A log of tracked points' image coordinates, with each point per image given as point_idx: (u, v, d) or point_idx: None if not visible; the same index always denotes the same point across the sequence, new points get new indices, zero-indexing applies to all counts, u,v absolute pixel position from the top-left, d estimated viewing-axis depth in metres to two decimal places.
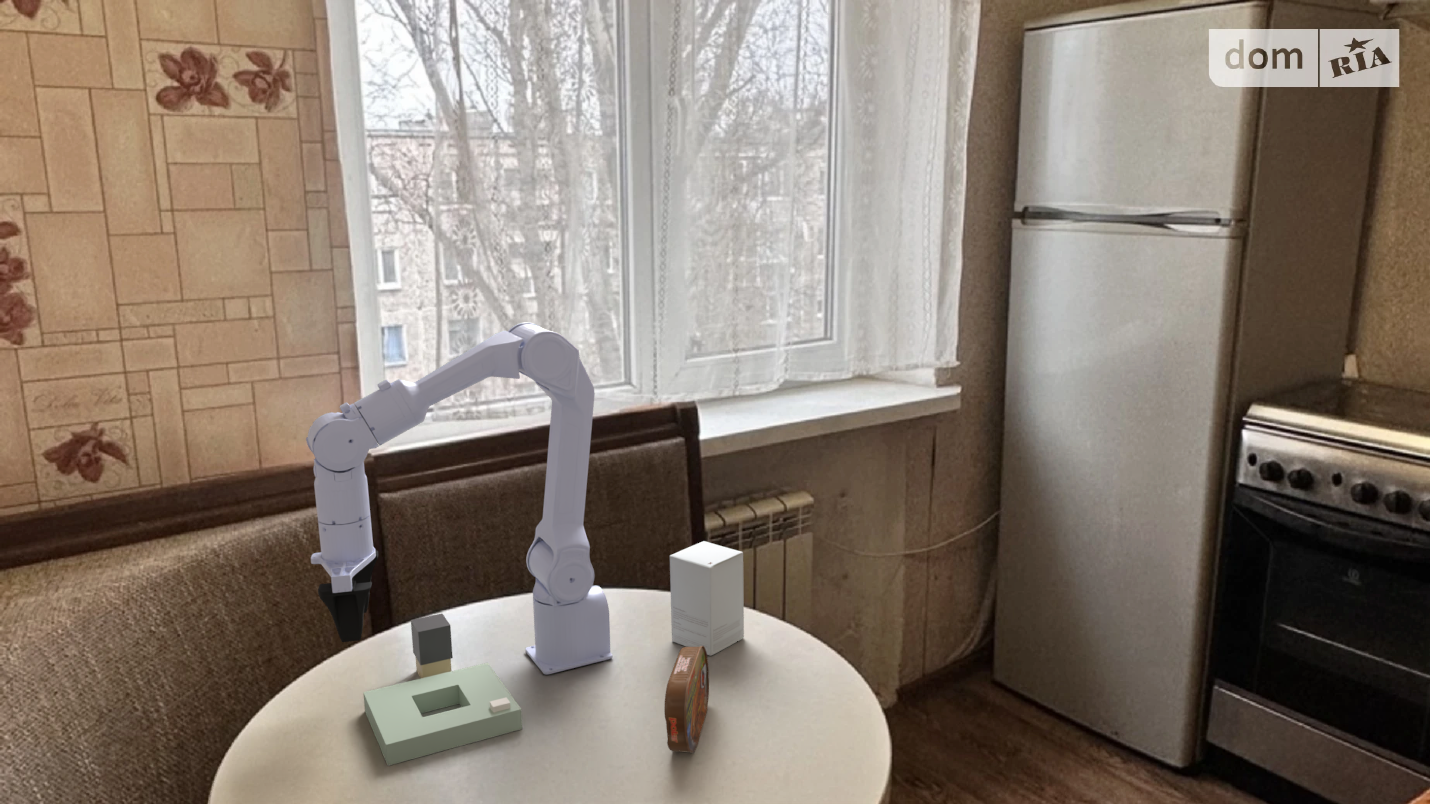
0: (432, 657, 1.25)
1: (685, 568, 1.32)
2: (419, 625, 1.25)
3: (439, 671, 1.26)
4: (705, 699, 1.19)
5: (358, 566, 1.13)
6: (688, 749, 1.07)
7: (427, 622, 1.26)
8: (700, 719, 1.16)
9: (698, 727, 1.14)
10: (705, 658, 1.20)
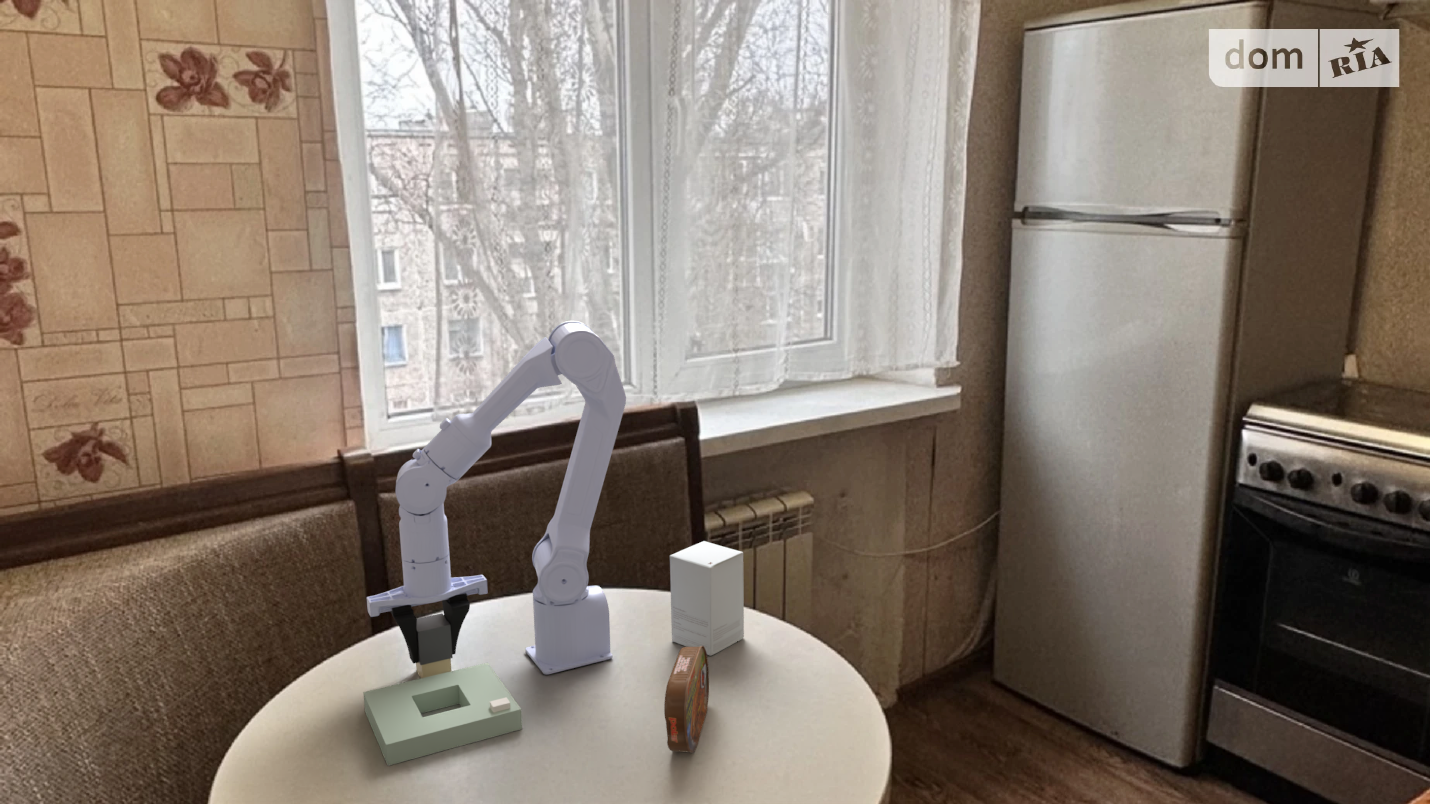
0: (432, 657, 1.25)
1: (685, 568, 1.32)
2: (419, 625, 1.25)
3: (439, 671, 1.26)
4: (705, 699, 1.19)
5: (394, 600, 1.22)
6: (688, 749, 1.07)
7: (427, 622, 1.26)
8: (700, 719, 1.16)
9: (698, 727, 1.14)
10: (705, 658, 1.20)
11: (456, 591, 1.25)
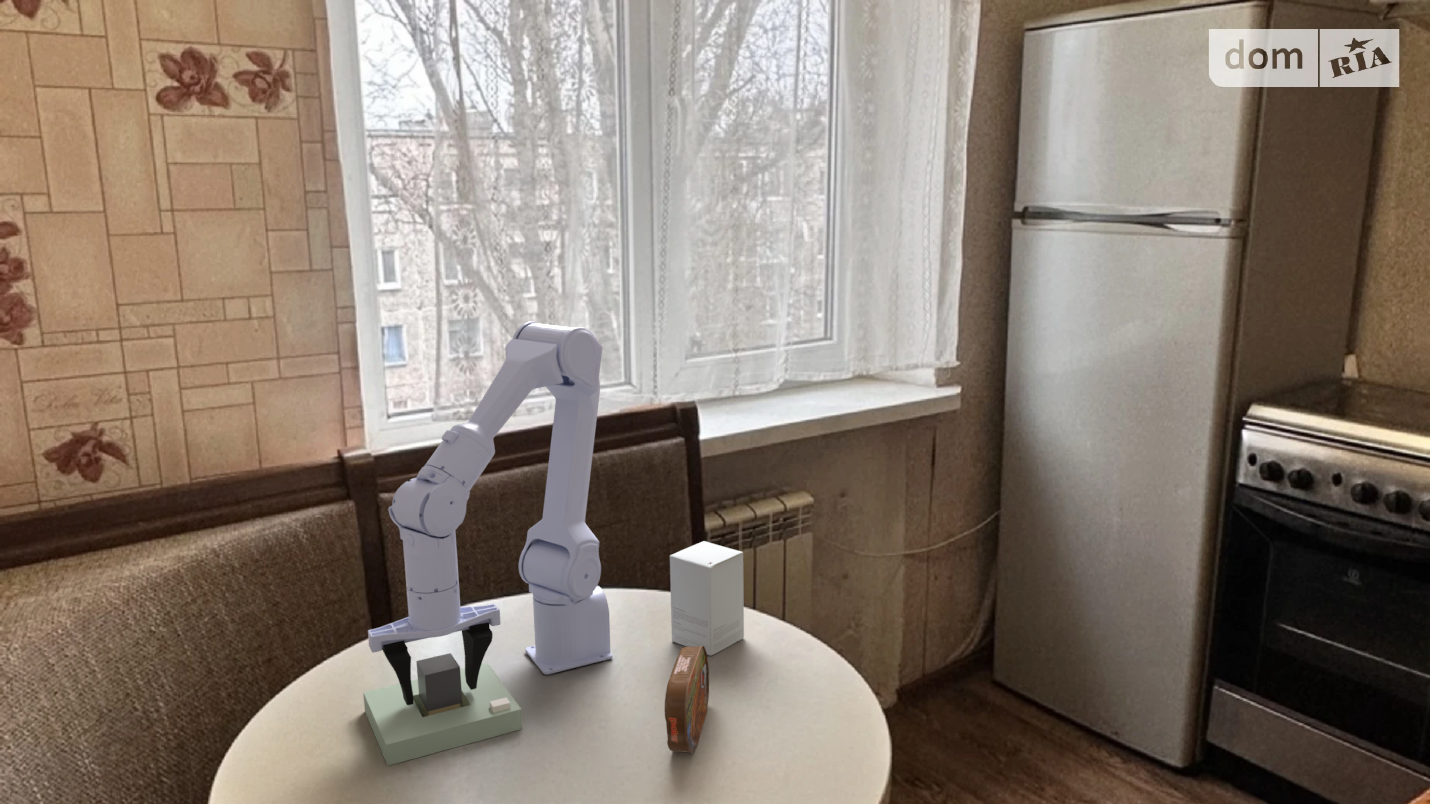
0: (440, 702, 1.14)
1: (685, 568, 1.32)
2: (426, 667, 1.15)
3: None
4: (705, 699, 1.19)
5: (398, 634, 1.10)
6: (688, 749, 1.07)
7: (434, 663, 1.16)
8: (700, 719, 1.16)
9: (698, 727, 1.14)
10: (705, 658, 1.20)
11: (466, 623, 1.14)
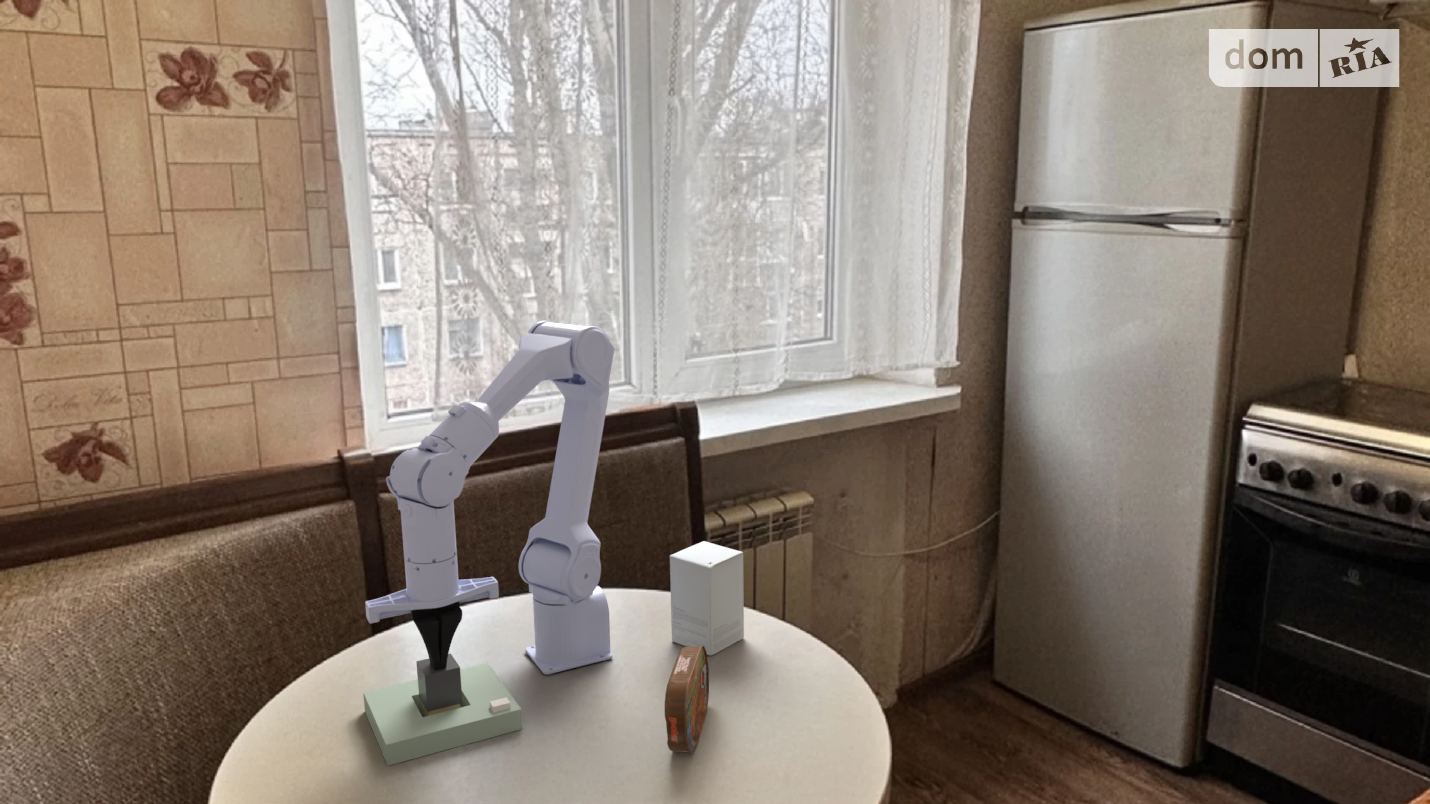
0: (440, 702, 1.14)
1: (685, 568, 1.32)
2: (426, 667, 1.15)
3: None
4: (705, 699, 1.19)
5: (395, 605, 1.10)
6: (688, 749, 1.07)
7: None
8: (700, 719, 1.16)
9: (698, 727, 1.14)
10: (705, 658, 1.20)
11: (464, 595, 1.13)
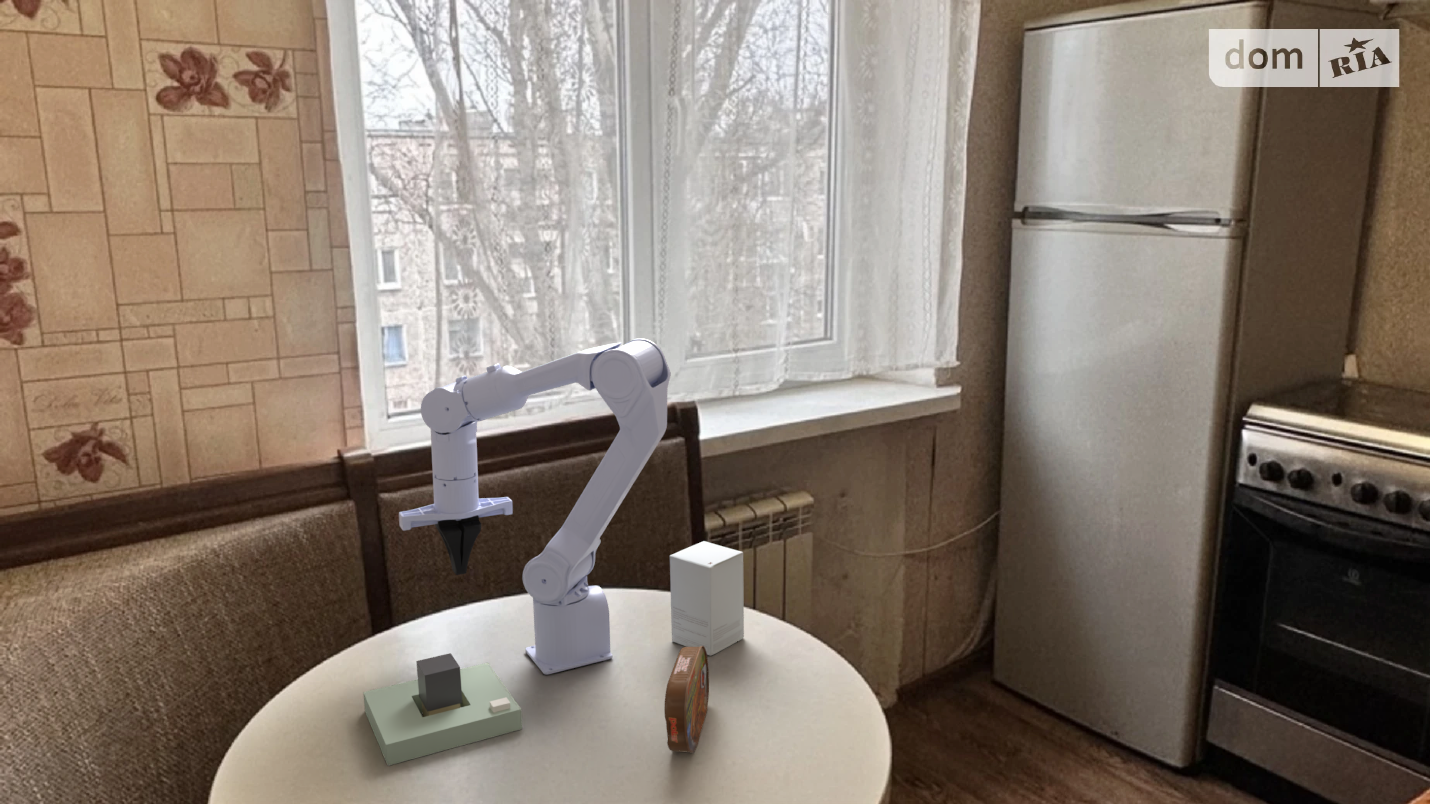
0: (440, 702, 1.14)
1: (685, 568, 1.32)
2: (426, 667, 1.15)
3: None
4: (705, 699, 1.19)
5: (425, 515, 1.28)
6: (688, 749, 1.07)
7: (434, 663, 1.15)
8: (700, 719, 1.16)
9: (698, 727, 1.14)
10: (705, 658, 1.20)
11: (483, 509, 1.31)
